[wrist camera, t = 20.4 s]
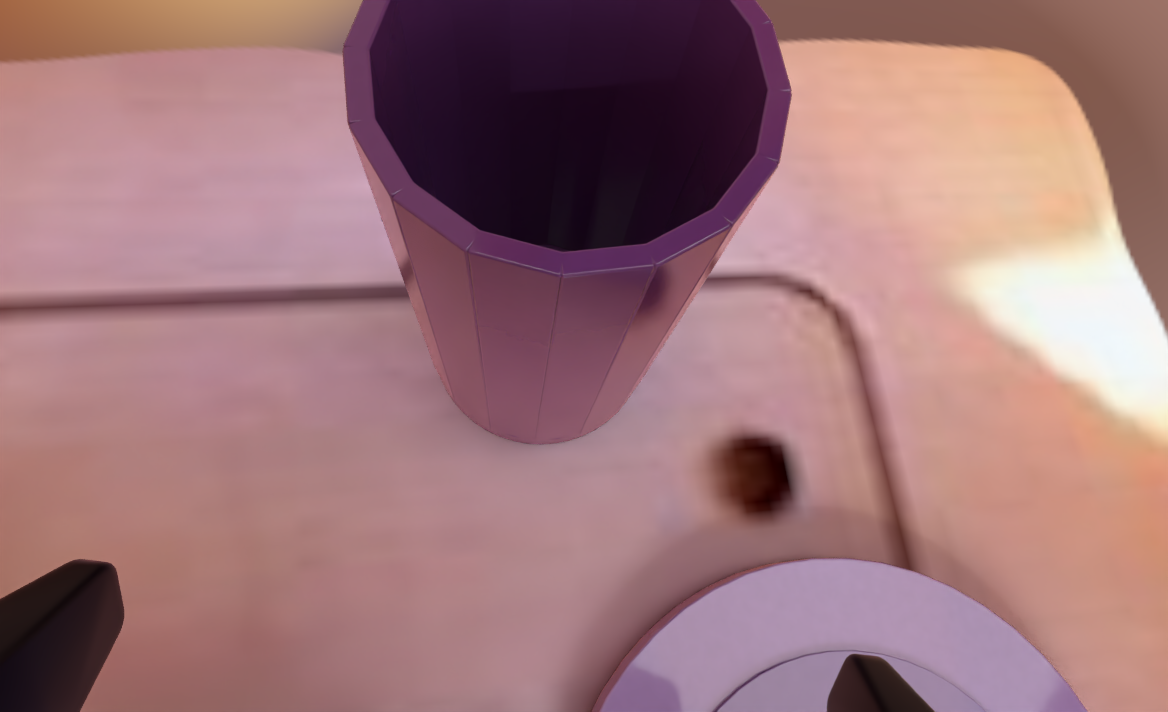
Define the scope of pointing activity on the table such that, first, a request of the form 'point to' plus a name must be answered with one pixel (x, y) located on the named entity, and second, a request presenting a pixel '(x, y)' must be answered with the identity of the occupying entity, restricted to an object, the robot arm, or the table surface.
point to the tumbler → (560, 183)
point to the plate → (830, 645)
